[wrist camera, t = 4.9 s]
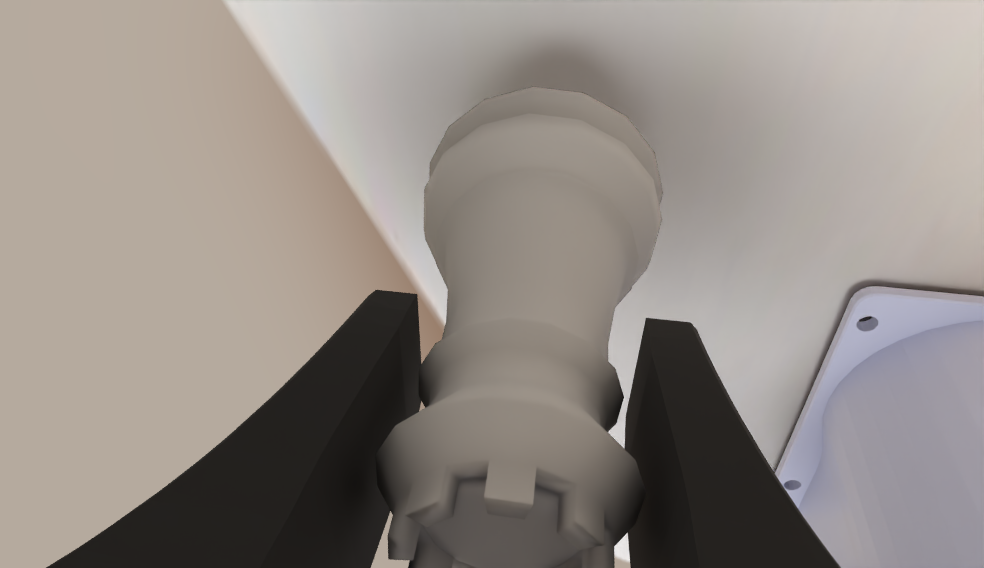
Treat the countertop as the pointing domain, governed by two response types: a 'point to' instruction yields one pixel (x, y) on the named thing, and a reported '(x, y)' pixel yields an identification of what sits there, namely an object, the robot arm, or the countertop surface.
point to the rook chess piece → (525, 340)
